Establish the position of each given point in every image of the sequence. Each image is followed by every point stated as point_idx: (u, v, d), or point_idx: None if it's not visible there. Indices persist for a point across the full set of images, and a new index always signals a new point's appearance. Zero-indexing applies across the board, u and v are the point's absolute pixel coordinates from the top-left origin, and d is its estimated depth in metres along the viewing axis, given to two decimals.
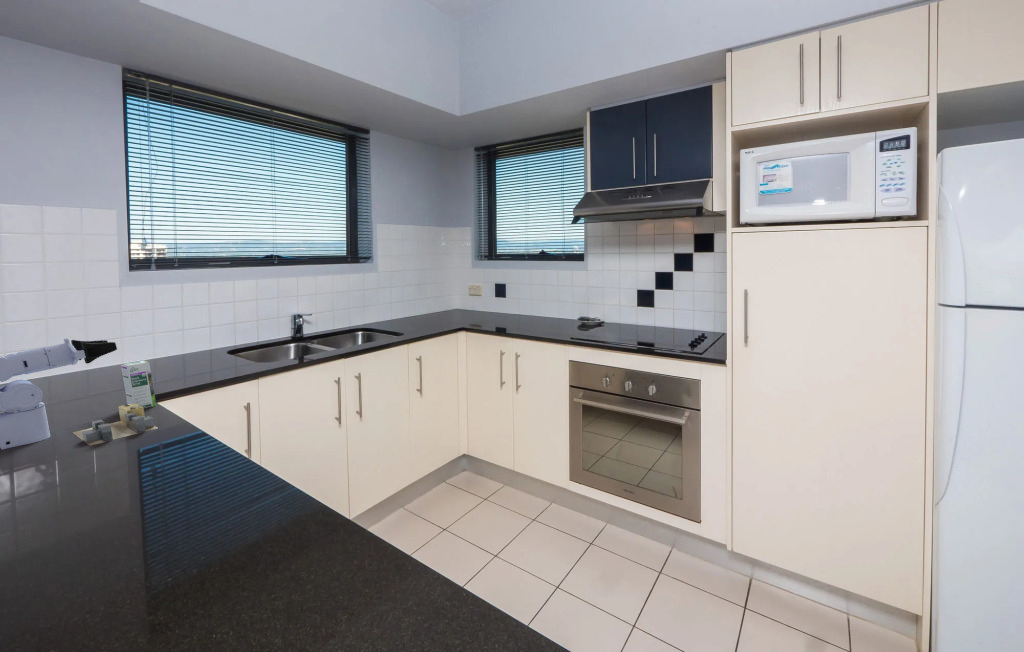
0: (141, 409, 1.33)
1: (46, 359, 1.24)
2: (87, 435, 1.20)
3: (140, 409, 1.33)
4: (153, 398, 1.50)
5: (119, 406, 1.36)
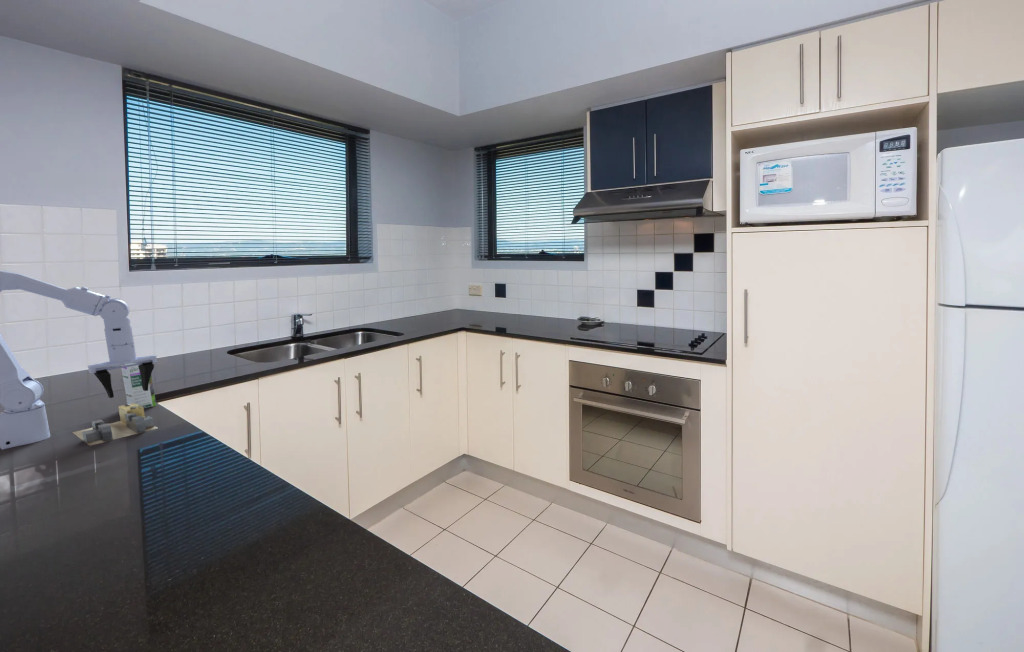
0: (141, 409, 1.33)
1: (119, 344, 1.30)
2: (87, 435, 1.20)
3: (140, 409, 1.33)
4: (153, 398, 1.50)
5: (119, 406, 1.36)
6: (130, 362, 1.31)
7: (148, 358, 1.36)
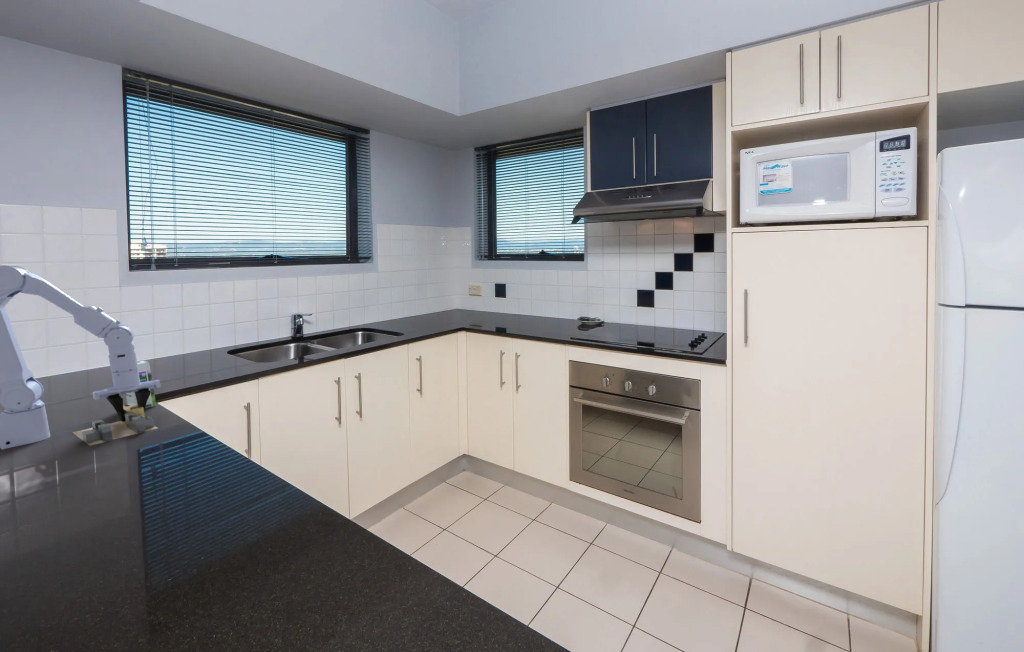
0: (141, 409, 1.33)
1: (123, 370, 1.31)
2: (87, 435, 1.20)
3: (140, 409, 1.33)
4: (153, 398, 1.50)
5: None
6: (134, 388, 1.32)
7: (152, 383, 1.37)
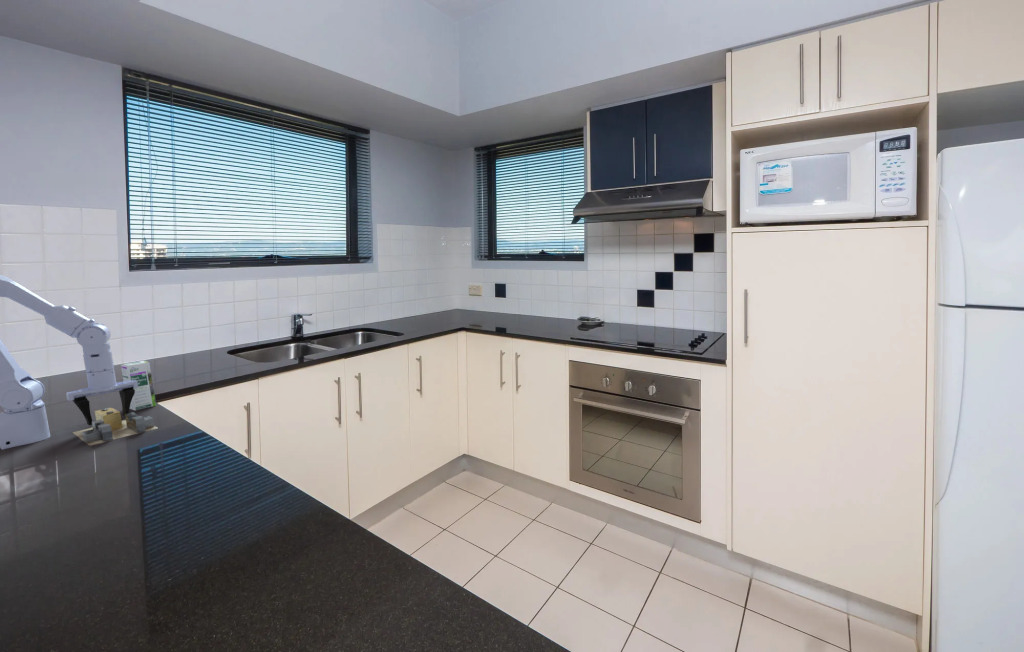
0: (118, 414, 1.30)
1: (97, 370, 1.27)
2: (87, 435, 1.20)
3: (117, 414, 1.30)
4: (153, 398, 1.50)
5: (95, 411, 1.32)
6: (109, 388, 1.28)
7: (129, 383, 1.34)
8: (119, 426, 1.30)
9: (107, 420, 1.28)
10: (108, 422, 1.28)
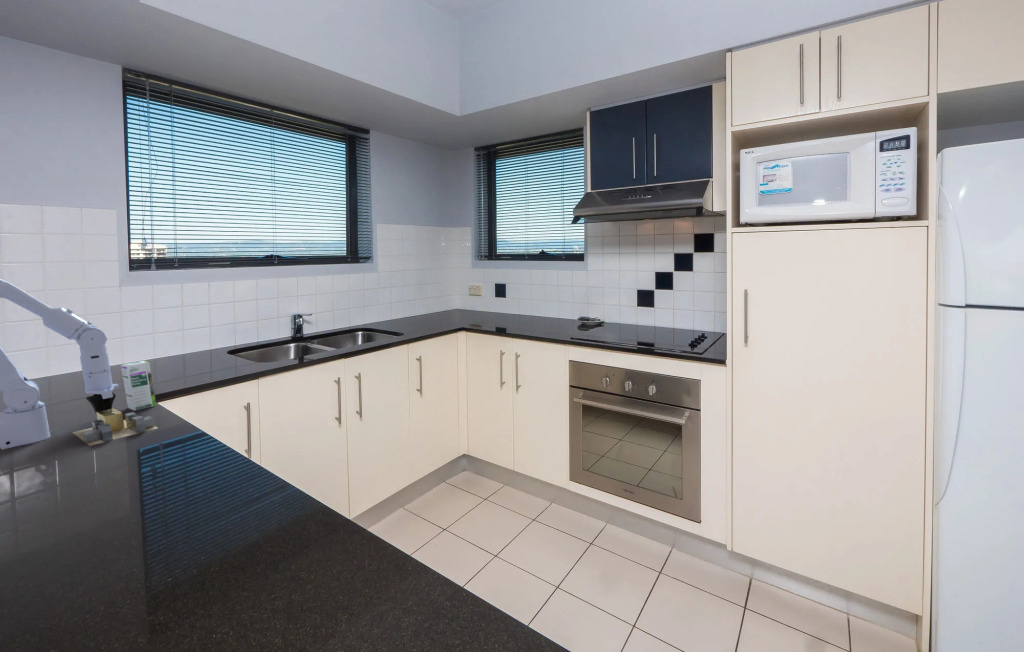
0: (120, 415, 1.29)
1: (97, 371, 1.30)
2: (87, 435, 1.20)
3: (119, 415, 1.29)
4: (153, 398, 1.50)
5: None
6: None
7: None
8: (121, 427, 1.29)
9: (109, 421, 1.27)
10: (110, 423, 1.27)
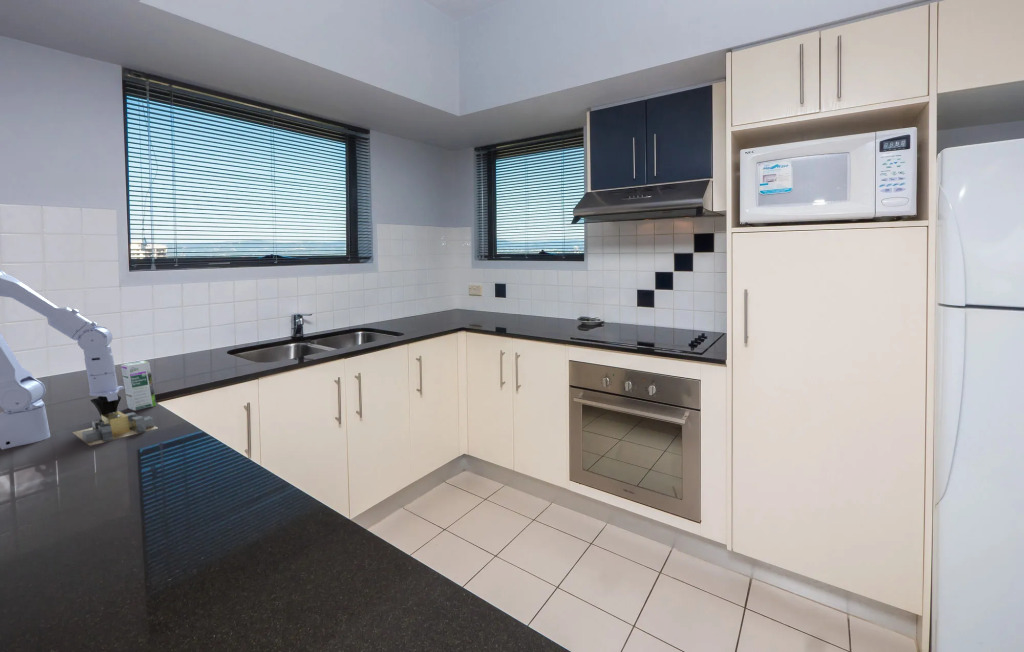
0: (125, 418, 1.26)
1: (98, 373, 1.27)
2: (87, 435, 1.20)
3: (124, 418, 1.26)
4: (153, 398, 1.50)
5: (102, 414, 1.28)
6: None
7: None
8: (126, 430, 1.26)
9: (114, 424, 1.24)
10: (115, 426, 1.25)
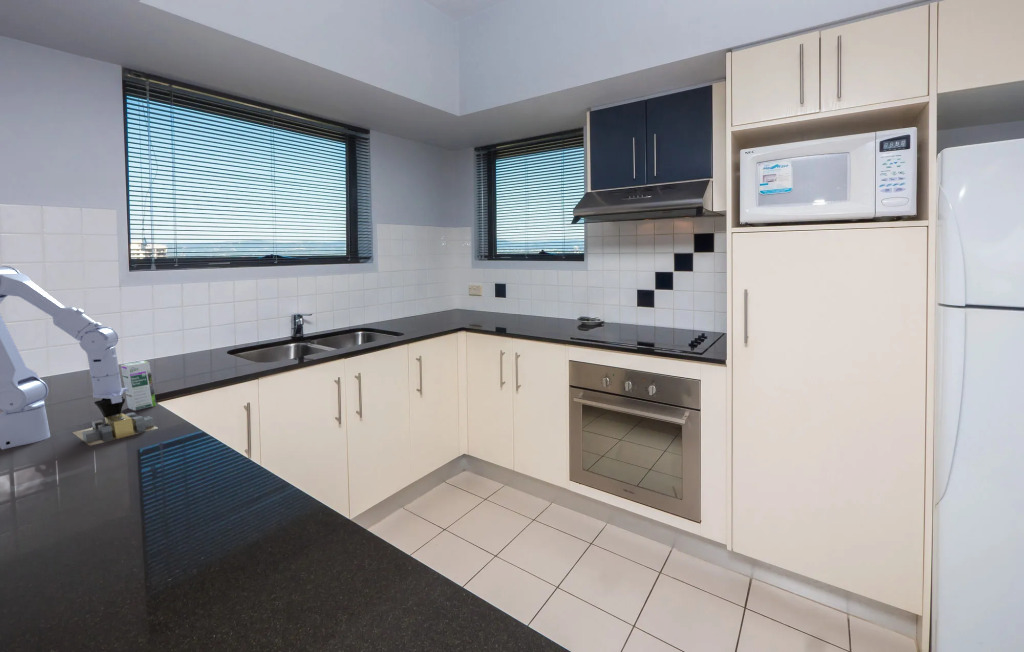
0: (129, 420, 1.24)
1: (99, 375, 1.24)
2: (87, 435, 1.20)
3: (128, 420, 1.24)
4: (153, 398, 1.50)
5: (106, 417, 1.26)
6: None
7: None
8: (130, 433, 1.24)
9: (118, 426, 1.22)
10: (119, 428, 1.22)
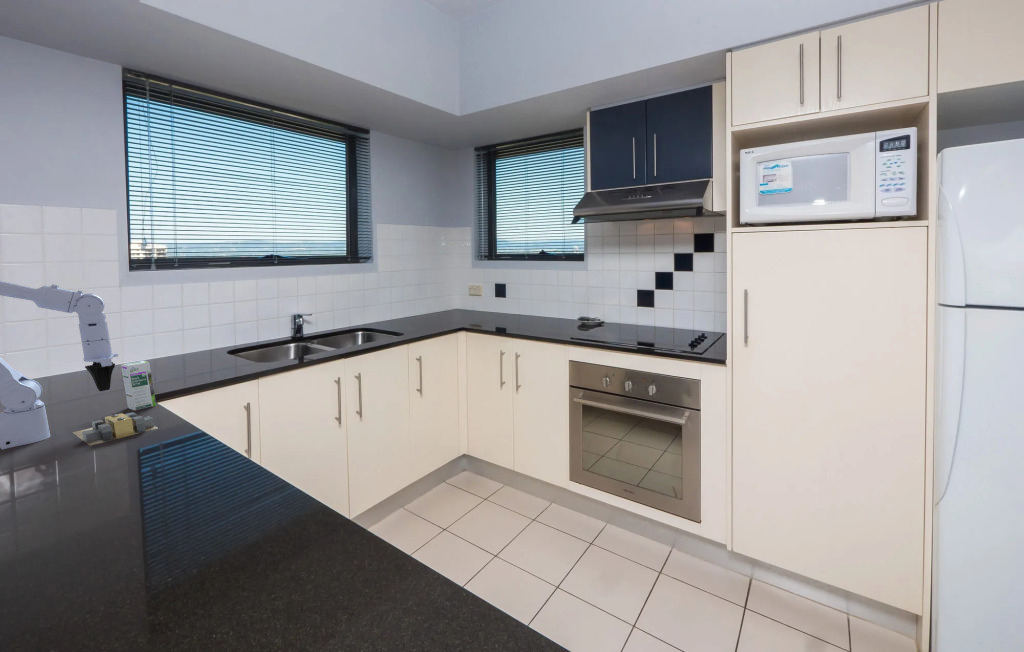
0: (129, 420, 1.24)
1: (95, 339, 1.28)
2: (87, 435, 1.20)
3: (128, 420, 1.24)
4: (153, 398, 1.50)
5: (106, 417, 1.26)
6: None
7: None
8: (130, 433, 1.24)
9: (118, 426, 1.22)
10: (119, 428, 1.22)
